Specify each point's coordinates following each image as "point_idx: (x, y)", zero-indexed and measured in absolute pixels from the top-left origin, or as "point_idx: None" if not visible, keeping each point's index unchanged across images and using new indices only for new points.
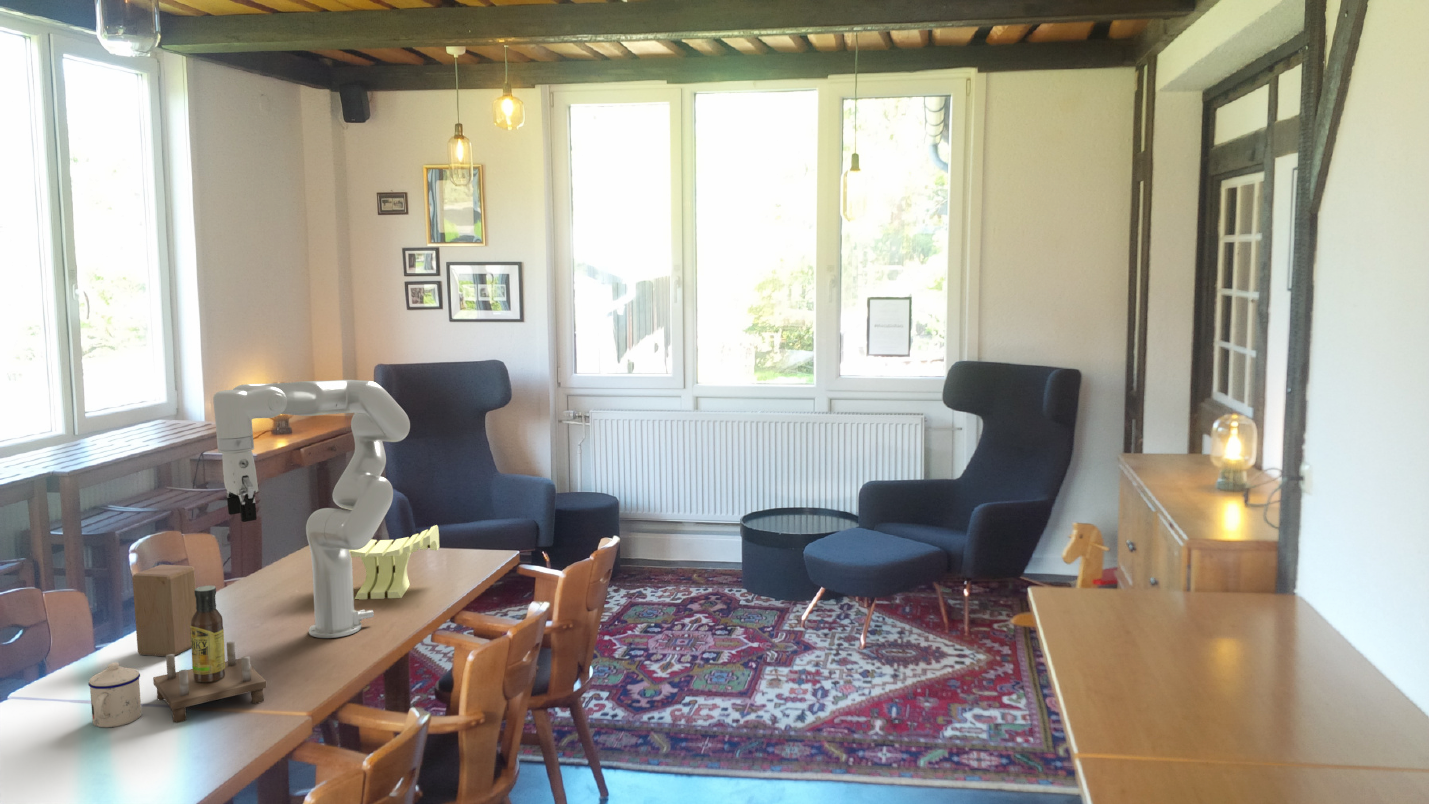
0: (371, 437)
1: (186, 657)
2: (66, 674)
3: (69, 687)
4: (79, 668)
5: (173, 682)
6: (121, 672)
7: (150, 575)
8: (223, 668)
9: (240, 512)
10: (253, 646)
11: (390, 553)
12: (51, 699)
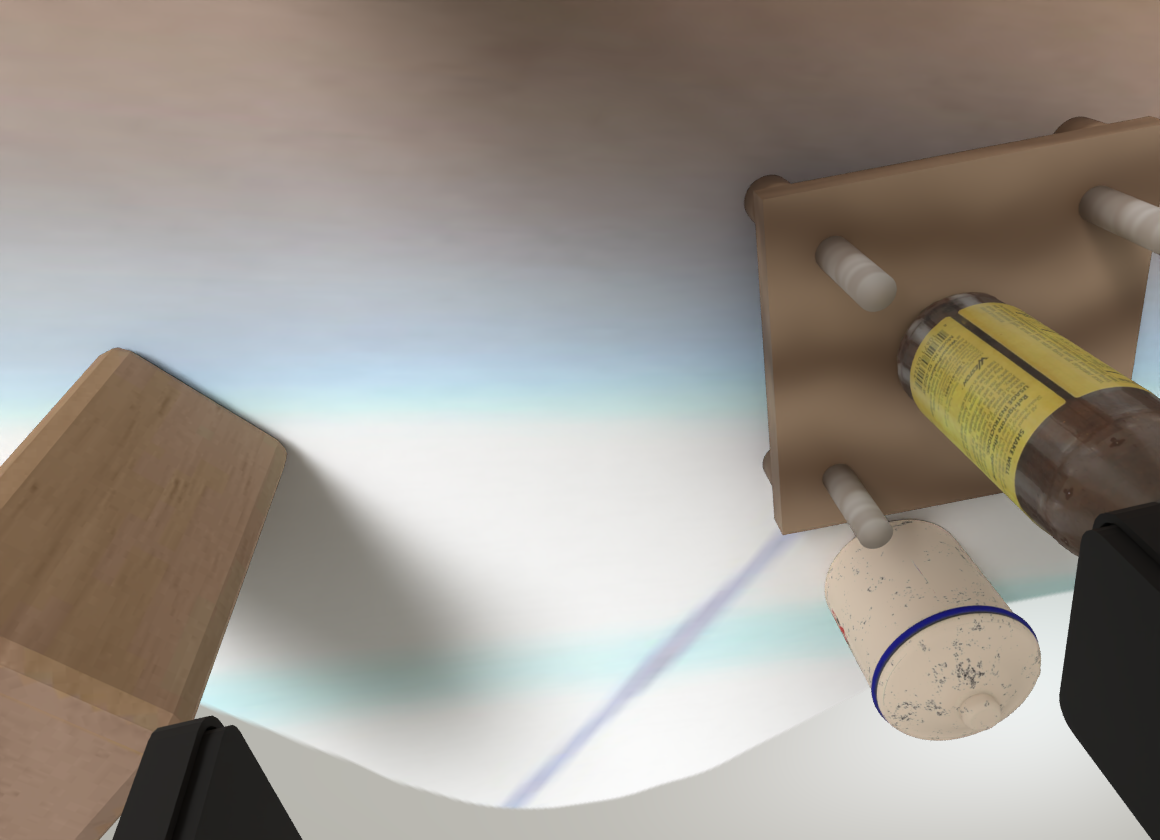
0: None
1: (309, 393)
2: (334, 736)
3: (485, 714)
4: (281, 712)
5: (898, 470)
6: (1008, 675)
7: (104, 822)
8: (1023, 311)
9: (252, 755)
10: (259, 88)
11: None
12: (578, 740)
